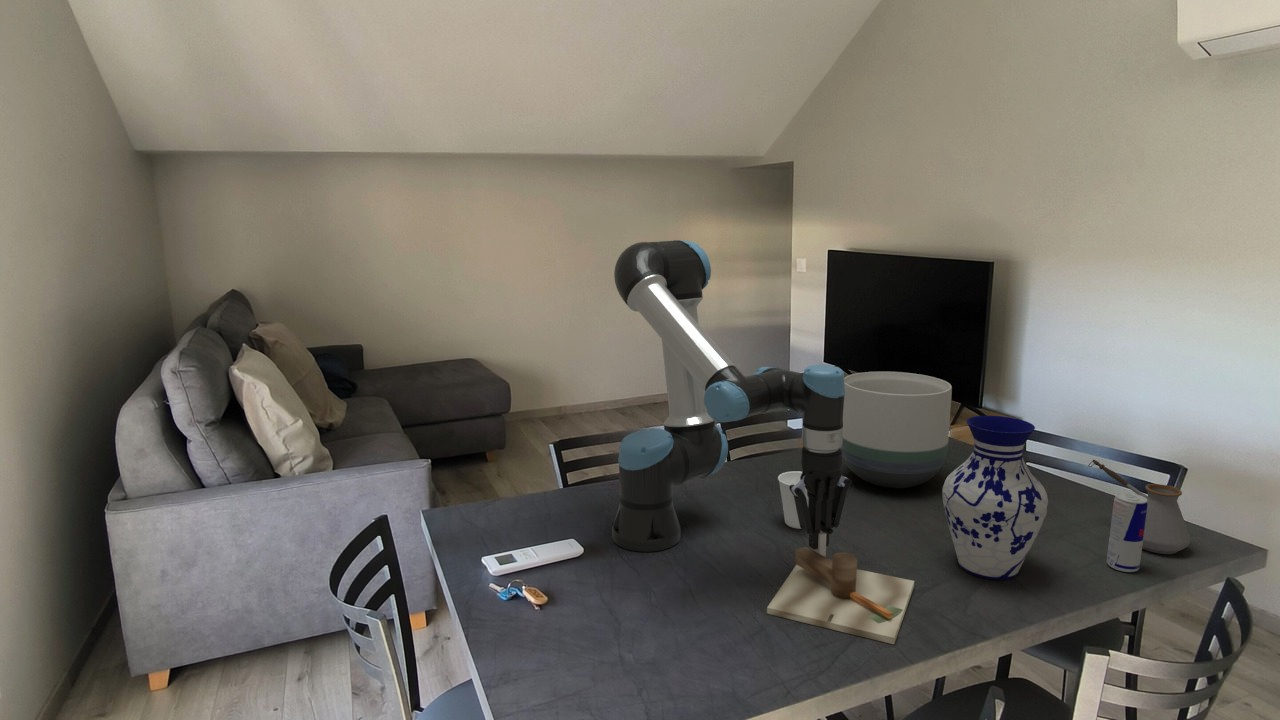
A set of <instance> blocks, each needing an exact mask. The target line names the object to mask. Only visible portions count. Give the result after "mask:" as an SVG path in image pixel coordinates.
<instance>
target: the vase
mask: <svg viewBox="0 0 1280 720" xmlns="http://www.w3.org/2000/svg"><path fill="white" fill-rule="evenodd" d="M966 424H967V426H968V428H969V430H970V432H971V434H972V437H973V445H974V446H973V449H972V452H971V454H970V455H969V457H968V458H967V459H966V460H965V461H964V462H963V463H961V464H960V465H959V466H958V467H957V468H954V470H953V471H951V472H950V474H949V475H947V477H945V478H946V479H945V480H944V484H943V486H942V503H943V508H944V513H945V517H946V520H947V525H948V528H949V532H950V536H951V540H952V543H953V546H954V549H955V554H956V558H957V562H958V565H959V566H960V568H961V569H963V570H964V571H965V572H966V573H968V574H971V575H972V576H976V577H979V578H982V579H987V580H995V581H1004V580H1005V581H1006V580H1010V579H1013V578H1015V577H1016V576H1018V574H1019V571H1020V570H1021V567H1022V565H1023V563H1024V561H1025V559H1026V558H1027V555H1028V553H1029V552H1030V550H1031V548H1032V546H1033V544H1034V542H1035V540H1036V538H1037V537H1038V534H1039V532H1040V530H1041V528H1042V525H1043V524H1044V521H1045V520H1046V519H1045V518H1046V516H1047V514H1048V509H1049V498H1048V494H1047V492H1046V489H1045V487H1044V486H1043V484H1042V483H1041V482H1040V480H1039V479H1038V478H1037V477H1036V475H1034V473H1033V472H1032V471H1031V470H1030V469H1029V467H1028V466H1027V463H1026V462H1025V459H1024V456H1023V451H1024V447H1025V445H1026V442H1027V441H1028V439H1029V438H1030V436H1031V435H1032V434H1033V432H1034V431H1035V429H1036V426H1035V425H1034V424H1033V423H1031V422H1029V421H1026V420H1023V419H1019V418H1014V417H1010V416H1004V415H1003V416H1002V415H976V416H971V417H968V418H967V419H966Z"/></svg>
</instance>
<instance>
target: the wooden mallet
mask: <svg viewBox="0 0 1280 720" xmlns="http://www.w3.org/2000/svg"><path fill="white" fill-rule="evenodd" d="M794 556H795V559H794V563H795V564H794V565H795V566H796V565H798V566H800V567H802V568H803V569H805V570H807V571H809V572H811V573H812V574H814V575H816V576H818V577H819V578H821V579H823V580H825V581H827V582H828V583H830V584H831V592H832V593H833V594H834V595H836V596H838V597H843V598H849V597H851V598H853V599H855V600H856V601H858V602H860V603H862V604H863V605H865V606H867V607H869V608H871V609H872V610H874V611H876V612H878V613H879V614H881V615H883V616H885V617H886V618H888V619H889V618H891V617H893V613H892V612H890V611H889V610H887V609H885V608H883V607H881V606H880V605H878V604H876V603H874V602H872V601H871V600H869V599H867V598H865V597H863V596H861V595H860V594H858V593H856V574H857V569H858V557H857V556H856V555H855V554H853V553H849V552H845V551H844V552H843V551H842V552H835V553H834V554H833V555H832V559H830V558H828V557H827V556H826V557H825V556H823V555H821V554H819V553H817V552H815V551H813V550H812V548H809V547H807V546H803V547H800V548H796V549H795V555H794Z"/></svg>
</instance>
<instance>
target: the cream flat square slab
mask: <svg viewBox="0 0 1280 720" xmlns="http://www.w3.org/2000/svg"><path fill="white" fill-rule="evenodd" d="M914 589H915V580H911V579H906V578H902V577H897V576H892V575H887V574H884V573H877V572H872V571H867V570H863V569H858V568H857V574H856V593H858V594H860V595H861V596H863V597H865V598H867V599H869V600H871V601H872V602H874V603H876V604H878V605H880V606H881V607H883V608H885V609H887V610H889V611H890V612H892V613H893V617H891V618H889V619H888V618H886V617H885V616H883V615H881V614H879V613H878V612H876V611H874V610H872V609H871V608H869V607H867V606H865V605H863V604H862V603H860V602H858V601H856V600H855V599H853V598H851V597H849V598H843V597H838V596H836V595H834V594H833V593H832V592H831V584H830V583H828V582H827V581H825V580H823V579H821V578H819V577H818V576H816V575H814V574H812V573H811V572H809V571H807V570H805V569H803V568H802V567H800V566H798V565H796V564H795V566H794V567H793V569H792V570H791V572H790V574H789V575H788V576H787V578H785V580H784V582H783V584H782V585H781V586H780V588H779V589H778V591H777V592H776V593H775V595H774V597H772V600H771V601H770V603H769V604H768V605H767V607H766V614H768V615H772V616H775V617H780V618H783V619H788V620H791V621H797V622H800V623H804V624H809V625H812V626H817V627H820V628H824V629H828V630H832V631H838V632H842V633H845V634H848V635H853V636H857V637H861V638H865V639H870V640H872V641H873V640H874V641H879V642H882V643H885V644H889V645H895V643H896V640H897V637H898V635H899V632H900V629H901V626H902V623H903V619H904V617H905V613H906V611H907V610H908V609H907V608H908V605H909V602H910V600H911V596H912V594H913V590H914Z"/></svg>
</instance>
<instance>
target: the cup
mask: <svg viewBox="0 0 1280 720" xmlns="http://www.w3.org/2000/svg"><path fill="white" fill-rule="evenodd" d="M801 474H802V471H799V470H798V471H796V470H795V471H786V472H782V473H780V474H779V475H778V476H777V480H778V481H779V483H778V484H779V488H780V490H779V491H780V495H781V504H782V509H783V516H784V518H783V519H784V523H785V524H786V525H787V526H788V527H790V528H793V529H798V530H799V529H800V530H801V529H802V528H800V524H799V519H798V514H797V509H796V504H795V500H794V495H793V494H792V492H791V491H790V489H789V487H790V485H792V484H793V485H796V484H797V483H798V482H799V481H800V477H801ZM805 491H806V493H805V496H806V500H807V504H808V499H809V498H808V496H807V489H806V488H805ZM802 530H803V529H802Z"/></svg>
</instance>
